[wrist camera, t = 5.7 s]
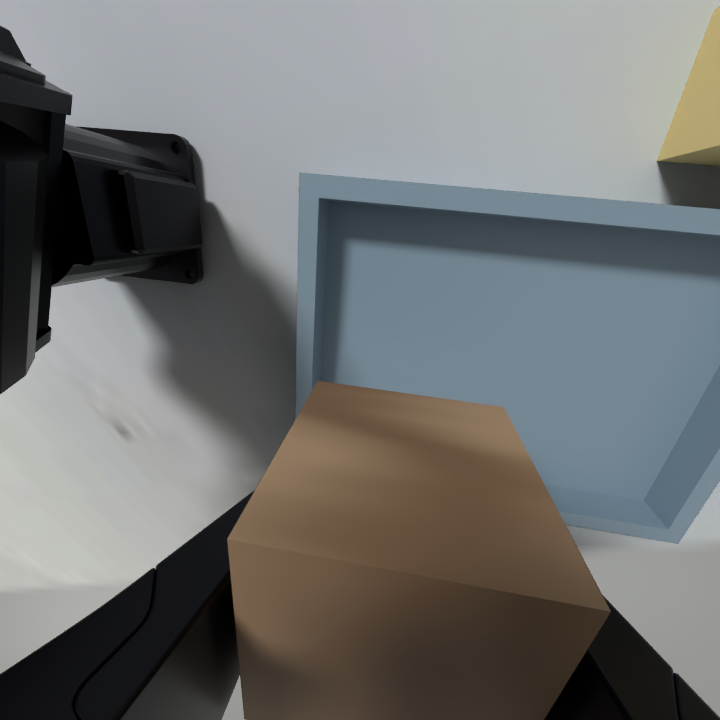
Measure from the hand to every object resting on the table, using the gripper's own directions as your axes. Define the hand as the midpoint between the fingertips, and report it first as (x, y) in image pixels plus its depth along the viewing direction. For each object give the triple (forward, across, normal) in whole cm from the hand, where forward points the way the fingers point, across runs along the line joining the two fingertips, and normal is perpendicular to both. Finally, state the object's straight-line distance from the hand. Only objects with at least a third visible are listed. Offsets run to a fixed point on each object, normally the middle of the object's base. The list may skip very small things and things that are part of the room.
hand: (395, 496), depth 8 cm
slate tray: (+10, -5, 0) cm, 11 cm away
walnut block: (+1, 0, 0) cm, 1 cm away
